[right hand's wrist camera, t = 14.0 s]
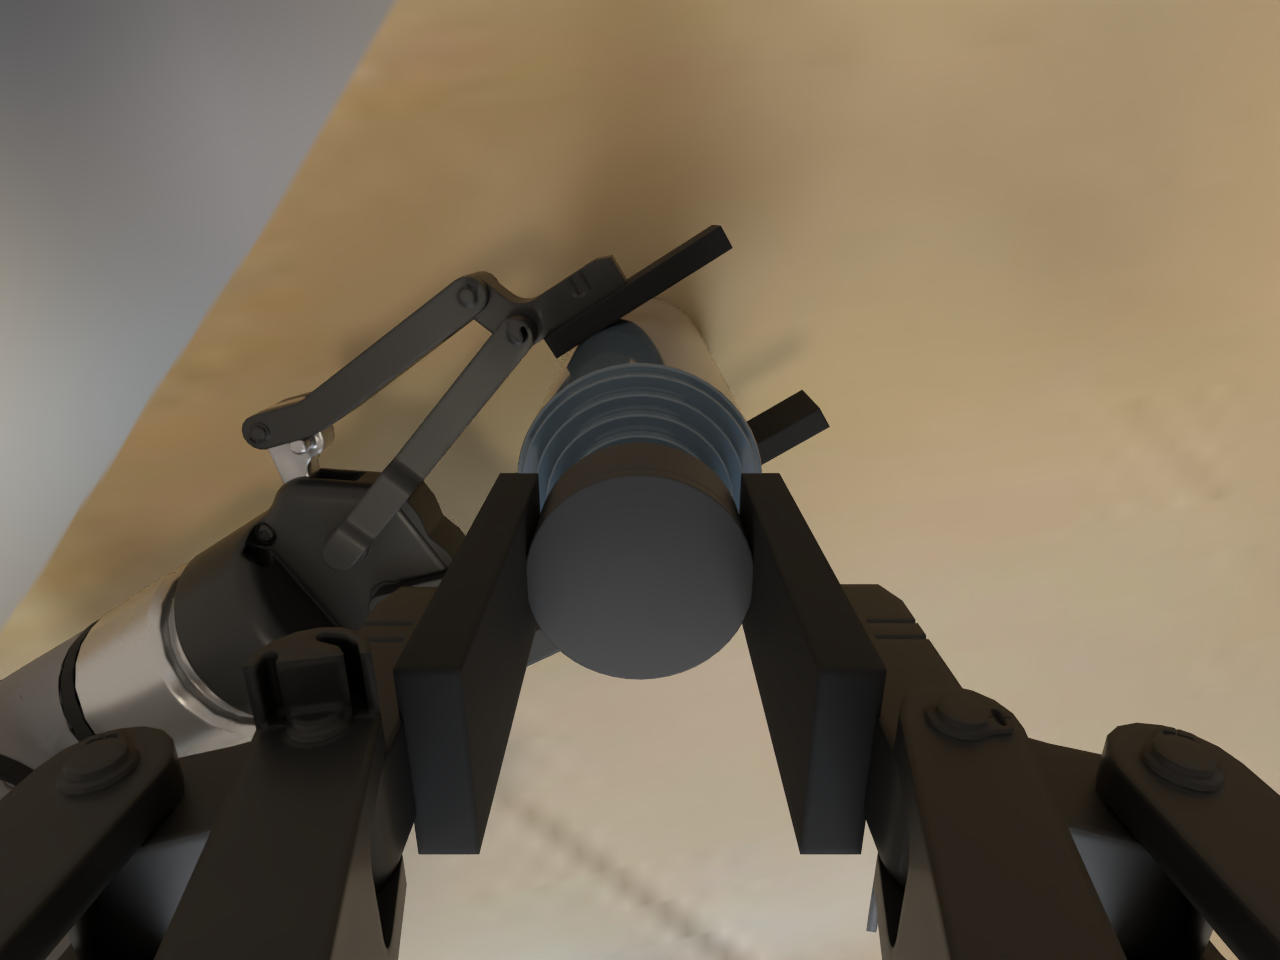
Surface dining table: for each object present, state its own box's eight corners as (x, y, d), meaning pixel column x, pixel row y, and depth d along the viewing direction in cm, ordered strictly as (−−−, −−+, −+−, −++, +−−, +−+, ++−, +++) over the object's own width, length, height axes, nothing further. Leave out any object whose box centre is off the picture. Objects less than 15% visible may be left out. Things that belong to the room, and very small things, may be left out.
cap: (624, 659, 15) (622, 716, 14) (496, 522, 14) (475, 566, 12) (780, 553, 14) (800, 599, 13) (657, 399, 13) (659, 426, 12)
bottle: (563, 419, 32) (462, 681, 14) (582, 285, 30) (494, 386, 12) (692, 440, 32) (760, 724, 14) (720, 309, 30) (840, 444, 12)
